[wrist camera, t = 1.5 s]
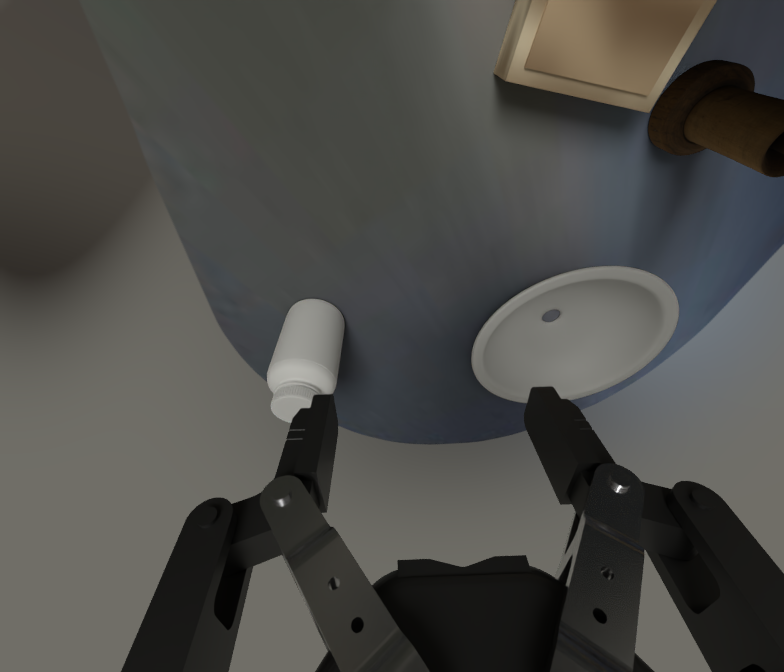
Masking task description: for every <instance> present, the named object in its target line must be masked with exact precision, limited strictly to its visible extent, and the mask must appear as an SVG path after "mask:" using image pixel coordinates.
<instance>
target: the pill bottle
mask: <svg viewBox="0 0 784 672" xmlns="http://www.w3.org/2000/svg"><path fill="white" fill-rule="evenodd" d="M344 329H345V322H344V318H343V315H342V314H341V312H340V311H339V310H338V309H337V308H336V307H335V306H334V305H332V304H331V303H329V302H326V301H324V300H320V299H305V300H302V301H299V302H297V303H296V304H294V305H293V306H292V307H291V308H290V310H289V312H288V314H287V316H286V319H285V322H284V325H283V328H282V331H281V334H280V337H279V340H278V343H277V346H276V349H275V352H274V354H273V357H272V360H271V363H270V366H269V369H268V373H267V382H268V386H269V388H270V390H271V391H272V392H273V394H274V396H273V399H272V402H271V410H272V412H273V414H274V415H275V416H276V417H278V418H279V419H281V420H283V421H286V422H289V423H291V422H292V419H293V417H294V416H295V415H296V414H297V412H298V411H299V410H300V409H301V408H310V407H311V403H312V399H313V396H314V395H318V394H333V392H334V390H335V388H336V384H337V377H338V370H339V363H340V356H341V350H342V343H343V336H344Z"/></svg>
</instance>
